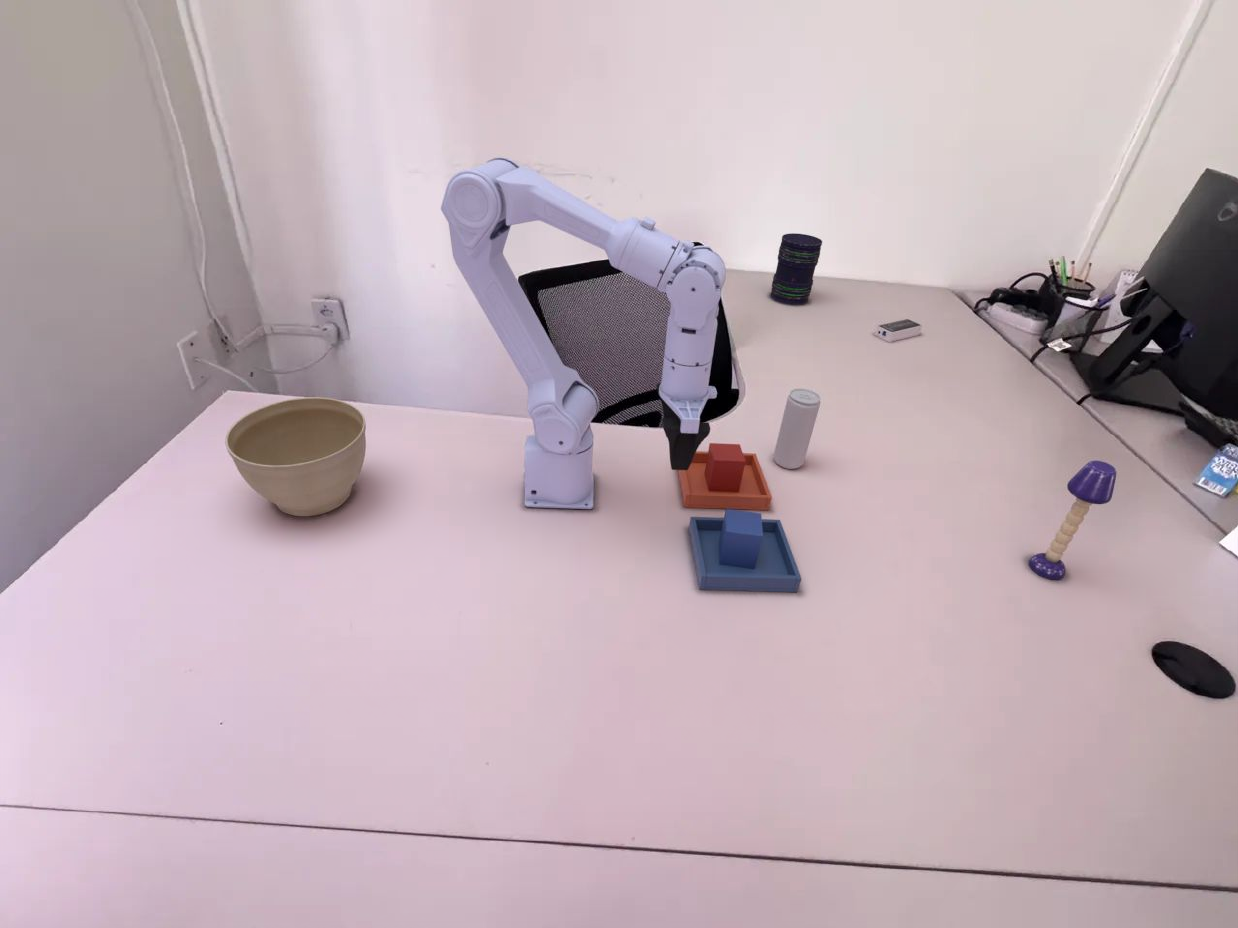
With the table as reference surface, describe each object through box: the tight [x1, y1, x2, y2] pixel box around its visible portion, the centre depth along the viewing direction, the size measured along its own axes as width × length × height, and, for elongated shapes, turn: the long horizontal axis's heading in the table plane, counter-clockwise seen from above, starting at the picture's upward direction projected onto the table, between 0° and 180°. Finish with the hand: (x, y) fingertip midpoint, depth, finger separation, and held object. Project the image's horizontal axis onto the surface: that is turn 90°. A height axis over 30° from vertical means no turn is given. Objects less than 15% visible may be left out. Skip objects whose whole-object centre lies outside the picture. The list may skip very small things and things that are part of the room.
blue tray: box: [688, 516, 802, 593], centre depth 83 cm, size 12×11×2 cm
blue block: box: [719, 509, 763, 569], centre depth 82 cm, size 4×4×6 cm
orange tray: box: [677, 450, 773, 511], centre depth 97 cm, size 12×11×2 cm
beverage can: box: [772, 388, 822, 470], centre depth 100 cm, size 5×5×12 cm
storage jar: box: [769, 232, 823, 306], centre depth 162 cm, size 10×10×15 cm
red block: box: [704, 442, 746, 492], centre depth 95 cm, size 4×4×6 cm
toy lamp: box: [1028, 459, 1117, 581], centre depth 82 cm, size 5×5×17 cm
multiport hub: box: [874, 318, 923, 343], centre depth 151 cm, size 4×11×2 cm, turn 121°
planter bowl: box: [224, 396, 367, 517], centre depth 85 cm, size 16×16×11 cm
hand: (676, 451), depth 85 cm, fingers open, 7 cm apart
